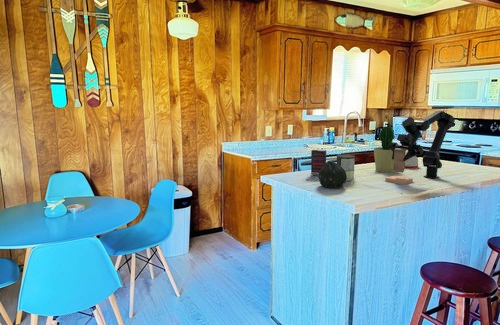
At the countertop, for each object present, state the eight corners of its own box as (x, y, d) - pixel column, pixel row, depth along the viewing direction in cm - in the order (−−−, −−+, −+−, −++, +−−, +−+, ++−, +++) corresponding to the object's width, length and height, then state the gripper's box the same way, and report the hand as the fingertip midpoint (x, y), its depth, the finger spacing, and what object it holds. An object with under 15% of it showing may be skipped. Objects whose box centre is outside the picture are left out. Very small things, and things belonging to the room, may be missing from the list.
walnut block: (394, 170, 193) (395, 148, 191) (404, 171, 190) (405, 148, 188) (393, 171, 189) (394, 149, 187) (403, 172, 186) (404, 149, 184)
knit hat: (399, 168, 237) (400, 146, 235) (394, 165, 251) (395, 144, 248) (420, 168, 235) (422, 147, 232) (414, 165, 248) (416, 144, 246)
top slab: (396, 178, 197) (396, 175, 197) (412, 181, 189) (412, 178, 188) (385, 181, 192) (385, 177, 191) (401, 184, 183) (401, 180, 183)
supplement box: (326, 175, 216) (326, 150, 214) (324, 176, 212) (325, 150, 209) (312, 174, 220) (313, 149, 217) (310, 175, 215) (311, 150, 213)
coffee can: (332, 179, 203) (333, 155, 201) (341, 176, 210) (342, 154, 208) (348, 182, 196) (349, 157, 194) (357, 179, 203) (358, 155, 201)
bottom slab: (395, 181, 199) (395, 178, 198) (414, 185, 189) (415, 182, 188) (382, 184, 192) (382, 180, 192) (401, 188, 182) (402, 184, 182)
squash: (350, 174, 189) (332, 154, 189) (352, 181, 175) (332, 159, 175) (330, 190, 193) (312, 170, 193) (330, 198, 179) (311, 176, 179)
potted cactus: (400, 170, 230) (403, 125, 225) (392, 173, 219) (395, 126, 214) (377, 167, 240) (380, 124, 235) (368, 170, 229) (371, 125, 224)
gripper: (391, 127, 196) (377, 148, 192) (421, 129, 180) (407, 152, 176) (399, 140, 201) (385, 161, 197) (429, 143, 185) (415, 165, 181)
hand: (397, 159), depth 188 cm, fingers closed on walnut block, 7 cm apart
